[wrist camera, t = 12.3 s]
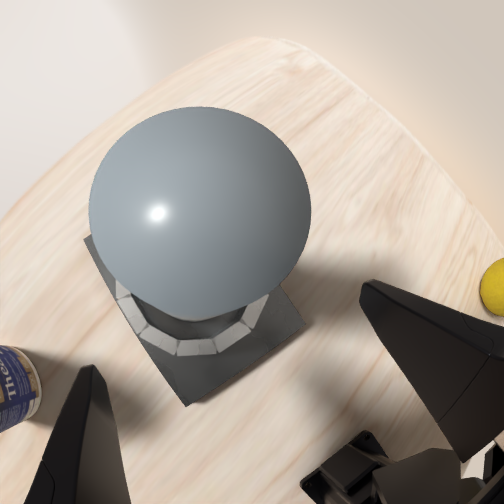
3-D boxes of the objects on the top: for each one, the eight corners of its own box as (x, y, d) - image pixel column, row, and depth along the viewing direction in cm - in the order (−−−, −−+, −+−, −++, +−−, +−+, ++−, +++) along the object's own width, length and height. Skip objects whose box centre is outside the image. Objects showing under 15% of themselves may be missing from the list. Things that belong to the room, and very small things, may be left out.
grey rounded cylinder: (244, 295, 19) (350, 234, 6) (181, 336, 17) (162, 362, 5) (203, 234, 19) (235, 83, 7) (141, 271, 18) (59, 166, 5)
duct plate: (299, 324, 20) (321, 322, 17) (185, 402, 18) (185, 418, 14) (201, 178, 21) (204, 151, 18) (88, 244, 19) (70, 226, 15)
